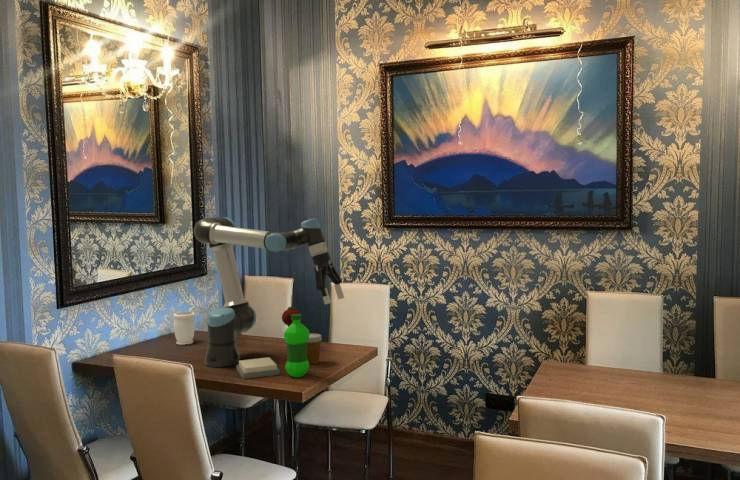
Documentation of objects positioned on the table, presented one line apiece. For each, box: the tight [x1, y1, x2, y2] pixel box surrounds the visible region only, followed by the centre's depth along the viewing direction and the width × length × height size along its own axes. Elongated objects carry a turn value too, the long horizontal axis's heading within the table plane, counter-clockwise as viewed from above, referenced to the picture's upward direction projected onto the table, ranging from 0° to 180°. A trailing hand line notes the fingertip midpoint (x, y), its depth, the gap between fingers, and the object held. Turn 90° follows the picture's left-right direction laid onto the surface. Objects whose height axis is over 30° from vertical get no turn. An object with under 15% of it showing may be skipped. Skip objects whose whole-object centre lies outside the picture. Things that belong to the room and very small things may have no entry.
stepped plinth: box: [235, 356, 281, 380], centre depth 262 cm, size 15×15×4 cm
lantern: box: [281, 296, 302, 328], centre depth 300 cm, size 10×10×30 cm
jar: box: [172, 311, 196, 346], centre depth 314 cm, size 11×10×15 cm
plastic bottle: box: [283, 314, 310, 378], centre depth 255 cm, size 10×10×25 cm
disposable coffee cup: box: [306, 332, 323, 365], centre depth 275 cm, size 10×10×12 cm
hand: (334, 301), depth 269 cm, fingers open, 13 cm apart
